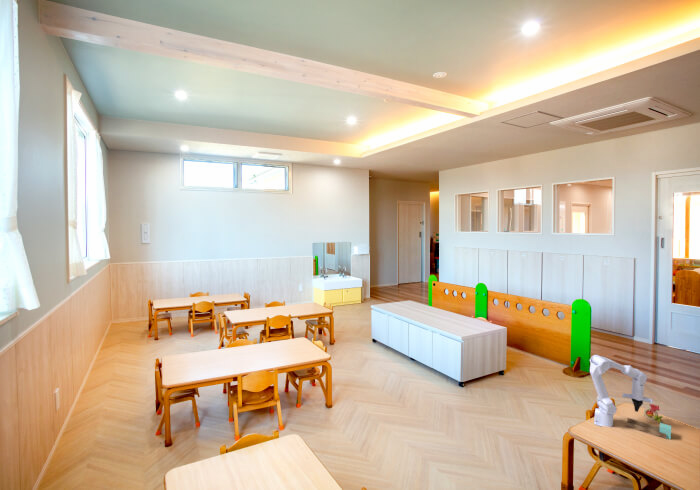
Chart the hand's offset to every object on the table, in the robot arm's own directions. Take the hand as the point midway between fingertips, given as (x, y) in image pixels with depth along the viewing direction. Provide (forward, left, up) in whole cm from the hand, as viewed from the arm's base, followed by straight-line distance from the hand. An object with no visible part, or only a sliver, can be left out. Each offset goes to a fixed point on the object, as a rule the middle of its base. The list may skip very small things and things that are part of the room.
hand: (636, 410), depth 225 cm
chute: (+5, -4, -9) cm, 11 cm away
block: (+14, -4, -8) cm, 17 cm away
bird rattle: (+8, +14, -10) cm, 19 cm away
